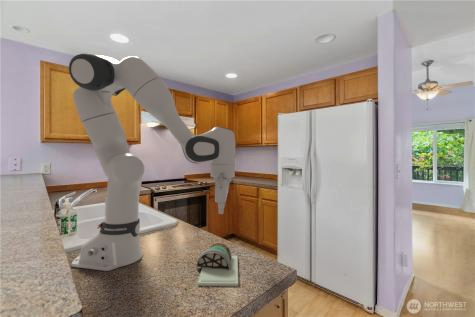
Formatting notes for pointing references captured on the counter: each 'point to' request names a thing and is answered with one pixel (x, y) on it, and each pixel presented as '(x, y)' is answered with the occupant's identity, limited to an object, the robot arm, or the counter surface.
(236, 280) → the cutting board
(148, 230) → the counter surface
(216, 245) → the food container
